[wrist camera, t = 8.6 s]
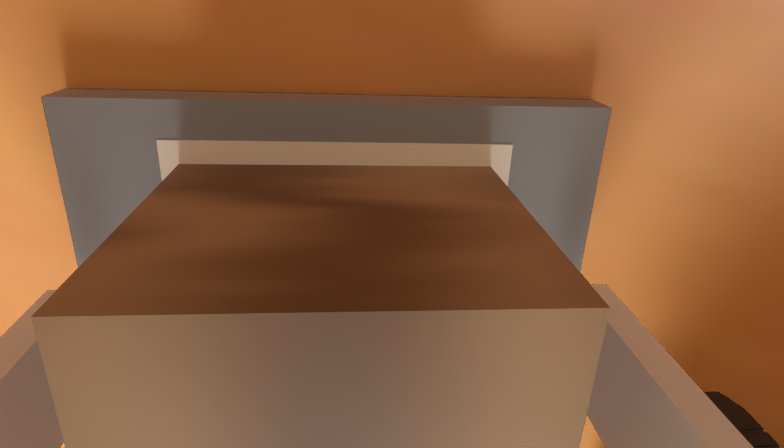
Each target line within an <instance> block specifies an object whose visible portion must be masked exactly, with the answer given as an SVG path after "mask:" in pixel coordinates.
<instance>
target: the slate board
mask: <svg viewBox="0 0 784 448" xmlns="http://www.w3.org/2000/svg"><path fill="white" fill-rule="evenodd" d="M41 98H42V103H43V107H44V112H45V116H46V121H47V126H48V130H49V135H50V140H51V144H52V149H53V153H54V158H55V163H56V167H57V172H58V177H59V181H60V186H61V190H62V195H63V200H64V204H65V209H66V213H67V218H68V223H69V227H70V232H71V237H72V241H73V246H74V250H75V255H76V260H77V264H78V268H79V267H80V265H81V264H82V263H83V262H84V261H85V260H86V259H87V258H88V257H89V256H90V255H91V254H92V253H93V252H94V251H95V250H96V249H97V248H98V247H99V246H100V245H101V244H102V243H103V242H104V241H105V240H106V239H107V238H108V237H109V236H110V235H111V233H112V232H113V231H114V230H115V229H116V228H117V227H118V226H119V225H120V224H121V223H122V222H123V221H124V220H125V219H126V218H127V217H128V216H129V215H130V214H131V213H132V212H133V211H134V210H135V209H136V208H137V207H138V206H139V205H140V204H141V202H142V201H143V200H144V199H145V198H146V197H147V196H148V195H149V194H150V193H151V192H152V191H153V190H154V189H155V188H156V187H157V186H158V185H159V184H160V183H161V182H162V181H163V180H164V179H165V178H166V177H167V176H168V175H169V174H170V173H171V172H172V170H173V169H174V168H175V167H176V166H177V165H178V164H243V165H367V166H491V168H492V169H493V170H494V171H495V172H496V173H497V175H498V176H499V177H500V178H501V179H502V181H503V182H504V183H505V184H506V185H507V186H508V188H509V189H510V190H511V191H512V192H513V194H514V195H515V196H516V197H517V198H518V199H519V201H520V202H521V203H522V204H523V205H524V207H525V208H526V209H527V210H528V211H529V212H530V214H531V215H532V216H533V217H534V218H535V220H536V221H537V222H538V223H539V224H540V225H541V227H542V228H543V229H544V230H545V231H546V233H547V234H548V235H549V236H550V237H551V238H552V240H553V241H554V242H555V243H556V244H557V246H558V247H559V248H560V249H561V250H562V251H563V253H564V254H565V255H566V256H567V257H568V259H569V260H570V261H571V262H572V263H573V264H574V266H575V267H576V268H577V269H578V270H579V272H580V270H581V264H582V259H583V254H584V249H585V244H586V238H587V233H588V228H589V223H590V218H591V212H592V207H593V202H594V197H595V192H596V186H597V181H598V176H599V171H600V166H601V160H602V155H603V150H604V145H605V140H606V134H607V129H608V124H609V119H610V114H611V107H608V106H606V105H604V104H601V103H599V102H597V101H594V100H588V99H541V98H493V97H445V96H397V95H349V94H301V93H253V92H205V91H158V90H110V89H63V90H60V91H57V92H54V93H51V94H48V95H45V96H42V97H41Z"/></svg>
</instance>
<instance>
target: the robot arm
mask: <svg viewBox="0 0 784 448" xmlns="http://www.w3.org/2000/svg"><path fill="white" fill-rule="evenodd" d="M590 285H591V286H592V287H593V288H594V289H595V290H596V292H597V293H598V294H599V295H600V296H601V298H602V299H603V300H604V301H605V302H606V303H607V305H608V306H609V307H610V311H609V316H608V320H607V325H606V329H605V334H604V338H603V343H602V347H601V352H600V356H599V361H598V365H597V370H596V374H595V379H594V383H593V388H592V392H591V397H590V401H589V406H588V410H587V416H588V417H589V419H590V421H591V423H592V424H593V426H594V428H595V429H596V431H597V433H598V435H599V436H600V438H601V440H602V442H603V443H604V445H605V447H606V448H779V444H778V443H777V442H776V441H775V440H774V439H773V438H772V437H771V436H770V435H769V434H768V433H767V432H764V431H763V428H762V427H761V426H760V425H759V424H758V423H757V422H756V420H755V419H754V418H753V417H752V416H751V415H750V414H749V413H748V412H747V411H746V410H745V409H744V408H742V407H741V406H739V405H738V404H736V403H735V402H733V401H732V400H730V399H729V398H727V397H726V396H724V395H723V394H721V393H720V392H703V391H702V390H701V389H700V388H699V386H698V385H697V384H696V383H695V382H694V381H693V380H692V379H691V378H690V376H689V375H688V374H687V373H686V372H685V371H684V370H683V369H682V368H681V367H680V365H679V364H678V363H677V362H676V361H675V360H674V359H673V358H672V357H671V355H670V354H669V353H668V352H667V351H666V350H665V349H664V348H663V347H662V345H661V344H660V343H659V342H658V341H657V340H656V339H655V338H654V337H653V335H652V334H651V333H650V332H649V331H648V330H647V329H646V328H645V327H644V325H643V324H642V323H641V322H640V321H639V320H638V319H637V318H636V317H635V315H634V314H633V313H632V312H631V311H630V310H629V309H628V308H627V307H626V305H625V304H624V303H623V302H622V301H621V300H620V299H619V298H618V297H617V296H616V294H615V293H614V292H613V291H612V290H611V289H610V288H609V287H608V286H607V284H590ZM55 291H56V290H47V291H46V292H45V293H44V294H43V295H42V296H41V297H40V298H39V299H38V300H37V301H36V302H35V303H34V304H33V305H32V306H31V307H30V308H29V309H28V310H27V311H26V312H25V313H24V314H23V315H22V316H21V317H20V318H19V319H18V320H17V321H16V322H15V323H14V324H13V325H12V326H11V327H10V328H9V329H8V330H7V331H6V332H5V333H4V334H3V335H2V336H1V337H0V448H60V447H61V446H62V444H63V442H64V440H63V436H62V432H61V428H60V425H59V421H58V417H57V414H56V410H55V406H54V402H53V399H52V395H51V391H50V387H49V384H48V380H47V376H46V372H45V369H44V365H43V361H42V357H41V354H40V350H39V346H38V342H37V339H36V335H35V331H34V328H33V324H32V320H31V316H32V315H33V314H34V313H35V312H36V311H37V310H38V309H39V308H40V307H41V306H42V305H43V304H44V303H45V302H46V301H47V300H48V299H49V297H50V296H51V295H52V294H53V293H54V292H55Z"/></svg>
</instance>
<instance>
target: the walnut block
mask: <svg viewBox="0 0 784 448" xmlns="http://www.w3.org/2000/svg"><path fill="white" fill-rule="evenodd" d="M609 311H610V307H609V306H608V305H607V303H606V302H605V301H604V300H603V299H602V298H601V296H600V295H599V294H598V293H597V292H596V290H595V289H594V288H593V287H592V286H591V285H590V283H589V282H588V281H587V280H586V279H585V277H584V276H583V275H582V274H581V273H580V272H579V270H578V269H577V268H576V267H575V266H574V264H573V263H572V262H571V261H570V260H569V259H568V257H567V256H566V255H565V254H564V253H563V251H562V250H561V249H560V248H559V247H558V246H557V244H556V243H555V242H554V241H553V240H552V238H551V237H550V236H549V235H548V234H547V233H546V231H545V230H544V229H543V228H542V227H541V225H540V224H539V223H538V222H537V221H536V220H535V218H534V217H533V216H532V215H531V214H530V212H529V211H528V210H527V209H526V208H525V207H524V205H523V204H522V203H521V202H520V201H519V199H518V198H517V197H516V196H515V195H514V194H513V192H512V191H511V190H510V189H509V188H508V186H507V185H506V184H505V183H504V182H503V181H502V179H501V178H500V177H499V176H498V175H497V173H496V172H495V171H494V170H493V169H492V168H491V166H367V165H243V164H178V165H177V166H176V167H175V168H174V169H173V170H172V172H171V173H170V174H169V175H168V176H167V177H166V178H165V179H164V180H163V181H162V182H161V183H160V184H159V185H158V186H157V187H156V188H155V189H154V190H153V191H152V192H151V193H150V194H149V195H148V196H147V197H146V198H145V199H144V200H143V201H142V202H141V204H140V205H139V206H138V207H137V208H136V209H135V210H134V211H133V212H132V213H131V214H130V215H129V216H128V217H127V218H126V219H125V220H124V221H123V222H122V223H121V224H120V225H119V226H118V227H117V228H116V229H115V230H114V231H113V232H112V233H111V235H110V236H109V237H108V238H107V239H106V240H105V241H104V242H103V243H102V244H101V245H100V246H99V247H98V248H97V249H96V250H95V251H94V252H93V253H92V254H91V255H90V256H89V257H88V258H87V259H86V260H85V261H84V262H83V263H82V264H81V265H80V267H79V268H78V269H77V270H76V271H75V272H74V273H73V274H72V275H71V276H70V277H69V278H68V279H67V280H66V281H65V282H64V283H63V284H62V285H61V286H60V287H59V288H58V289H57V290H56V291H55V292H54V293H53V294H52V295H51V296H50V297H49V299H48V300H47V301H46V302H45V303H44V304H43V305H42V306H41V307H40V308H39V309H38V310H37V311H36V312H35V313H34V314H33V315H32V316H31V320H32V324H33V328H34V331H35V335H36V339H37V342H38V346H39V350H40V354H41V357H42V361H43V365H44V369H45V372H46V376H47V380H48V384H49V387H50V391H51V395H52V399H53V402H54V406H55V410H56V414H57V417H58V421H59V425H60V428H61V432H62V436H63V440H64V443H65V447H66V448H579V446H580V442H581V437H582V433H583V428H584V424H585V419H586V415H587V410H588V406H589V401H590V397H591V392H592V388H593V383H594V379H595V374H596V370H597V365H598V361H599V356H600V352H601V347H602V343H603V338H604V334H605V329H606V325H607V320H608V316H609Z"/></svg>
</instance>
